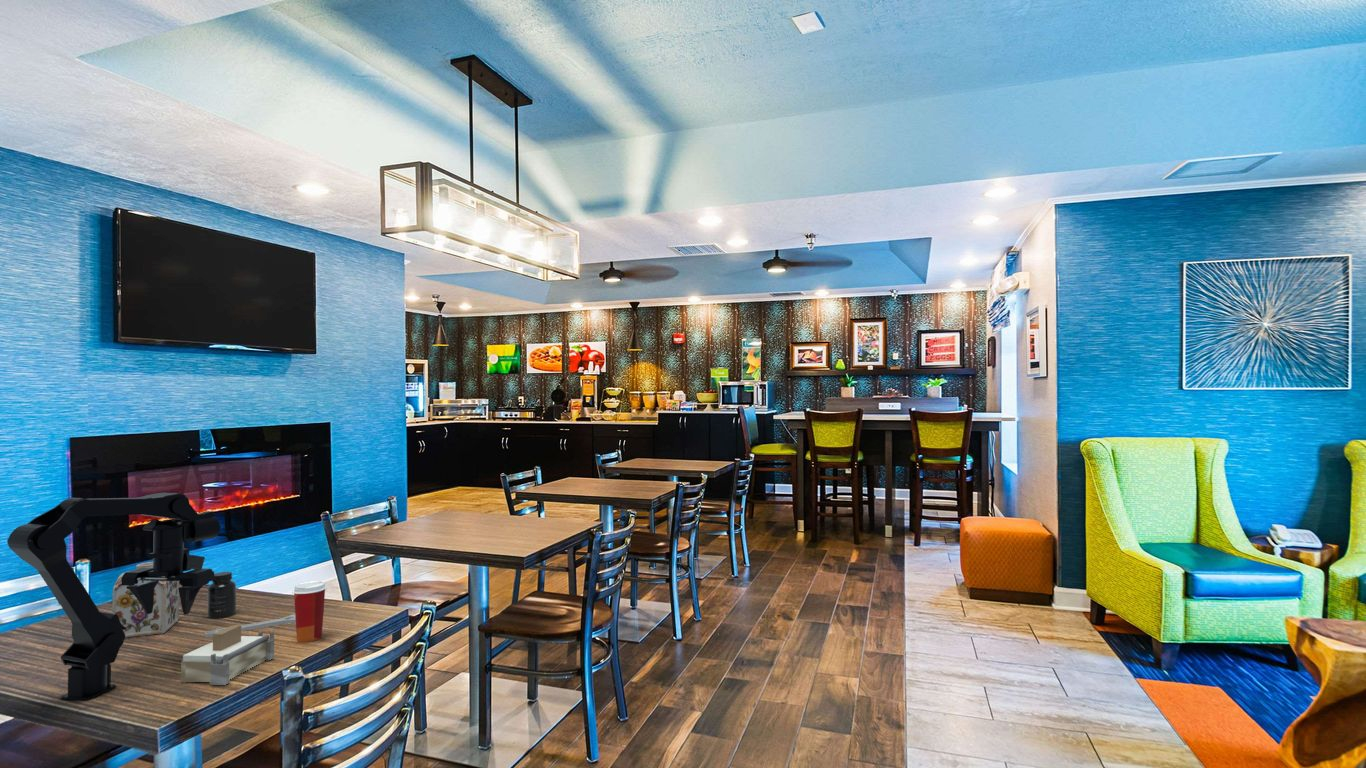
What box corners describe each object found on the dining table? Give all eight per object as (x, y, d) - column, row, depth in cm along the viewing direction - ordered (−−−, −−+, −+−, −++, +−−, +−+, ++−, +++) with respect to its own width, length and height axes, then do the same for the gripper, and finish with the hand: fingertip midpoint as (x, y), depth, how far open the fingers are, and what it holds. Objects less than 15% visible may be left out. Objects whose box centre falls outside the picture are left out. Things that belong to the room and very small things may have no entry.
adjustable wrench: (204, 640, 173) (204, 633, 173) (206, 633, 179) (207, 626, 179) (314, 622, 186) (314, 616, 186) (313, 616, 192) (313, 610, 192)
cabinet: (229, 657, 160) (230, 630, 160) (273, 658, 159) (274, 631, 159) (176, 684, 145) (177, 654, 145) (225, 685, 144) (225, 655, 144)
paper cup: (318, 631, 178) (319, 578, 178) (331, 637, 173) (331, 583, 173) (286, 639, 172) (287, 585, 172) (298, 646, 167) (299, 590, 167)
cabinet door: (229, 638, 160) (230, 618, 160) (269, 639, 159) (269, 619, 159) (178, 663, 145) (178, 640, 145) (221, 664, 144) (221, 641, 144)
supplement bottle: (212, 612, 194) (212, 571, 195) (239, 610, 197) (239, 569, 197) (203, 620, 188) (203, 577, 188) (231, 617, 190) (231, 575, 190)
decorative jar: (164, 634, 177) (165, 566, 177) (110, 640, 172) (111, 570, 173) (179, 620, 188) (180, 556, 188) (128, 626, 184) (129, 560, 184)
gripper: (232, 539, 163) (231, 604, 163) (161, 539, 165) (160, 602, 164) (195, 550, 152) (194, 618, 152) (119, 549, 153) (118, 617, 153)
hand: (168, 613), depth 155 cm, fingers open, 9 cm apart
